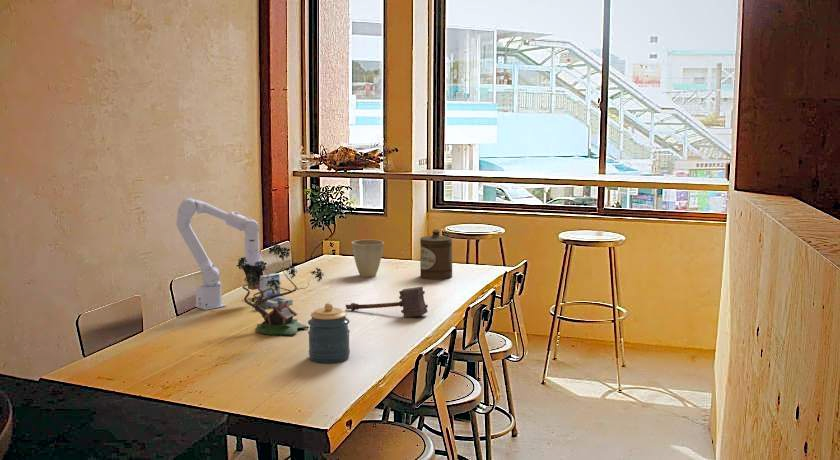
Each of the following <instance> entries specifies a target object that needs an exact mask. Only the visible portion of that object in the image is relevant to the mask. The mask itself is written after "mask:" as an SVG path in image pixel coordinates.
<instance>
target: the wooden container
mask: <svg viewBox="0 0 840 460" xmlns="http://www.w3.org/2000/svg"><path fill="white" fill-rule="evenodd" d="M440 233H441V231H440V230H439V229H433V230H432V233H431V234H432V235H427V236H422V237H420V243H419V244H420V259H419V260H420V261H419V262H420V263H419V264H420V269H419V270H420V273H419V274H420V278H422V279H425V280H437V281H438V280H447V279H451V278H452V277H453V246H452V245H453V243H452V242H453V239H452V237H451V236H446V235H445V236H444V235H441V234H440Z"/></svg>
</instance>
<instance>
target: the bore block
mask: <svg viewBox="0 0 840 460" xmlns="http://www.w3.org/2000/svg"><path fill="white" fill-rule="evenodd" d="M286 300H287V301H288V303H287V305H288V306H293V304H294V303H293V302H294V301H293V299H291V298H288V297H284V296H279V297H276V298H273V299H270V300H267V308H271V309H273V306H274V307H275V306H276V307H278V303H277V301H283V303H282V305H283V304H284V303H285V302H286Z"/></svg>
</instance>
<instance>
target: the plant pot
mask: <svg viewBox="0 0 840 460" xmlns="http://www.w3.org/2000/svg"><path fill="white" fill-rule="evenodd" d="M384 245H385V242H384V241H383V240H379V239H359V240H358V239H357V240H353V241H351V248H352V253H353V259H354V263H355V266H356V268H357V272H358V274H359V276H360V277H361V278H374V277H376V276H377V273H378V271H379V268H380V264H381V261H382V256H383V251H384Z"/></svg>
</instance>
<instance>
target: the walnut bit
mask: <svg viewBox="0 0 840 460" xmlns="http://www.w3.org/2000/svg"><path fill="white" fill-rule="evenodd" d="M250 274H251V273H250ZM248 276H249V275H248ZM251 277H252V275H251ZM249 281H250V280H249ZM251 281H252V279H251ZM247 282H248V281H247ZM251 283H253V282H251ZM251 283H249V282H248V283H247V284H251ZM256 286H257V287H258V288H259V289H260V281H259V284H258V285H256ZM247 289H248V290H252V291H254V290H255V291H256V290H258V289H257V288H256V287H255V285H253V284H252V285H248V286H247Z"/></svg>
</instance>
